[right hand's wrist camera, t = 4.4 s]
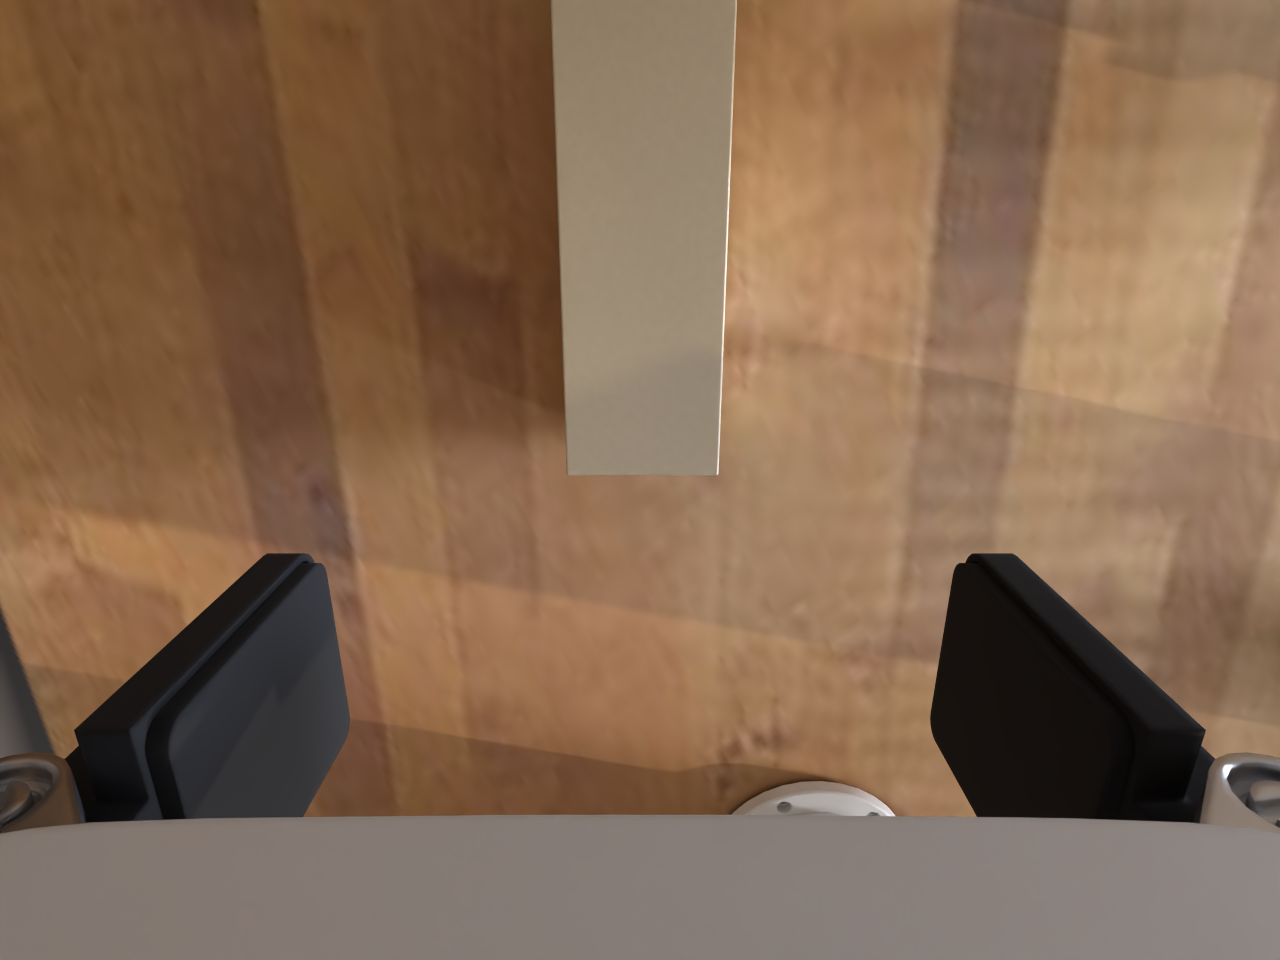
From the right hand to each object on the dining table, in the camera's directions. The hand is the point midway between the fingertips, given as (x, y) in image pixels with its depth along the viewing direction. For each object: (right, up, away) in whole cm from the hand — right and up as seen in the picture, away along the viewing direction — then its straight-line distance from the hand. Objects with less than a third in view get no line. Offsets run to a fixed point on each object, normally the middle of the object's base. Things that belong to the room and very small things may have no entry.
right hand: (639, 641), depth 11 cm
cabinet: (0, +15, +23) cm, 28 cm away
